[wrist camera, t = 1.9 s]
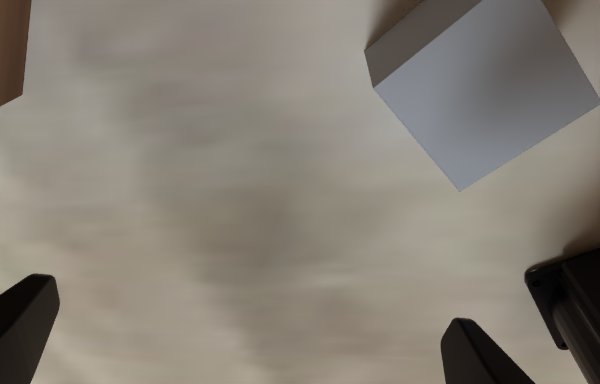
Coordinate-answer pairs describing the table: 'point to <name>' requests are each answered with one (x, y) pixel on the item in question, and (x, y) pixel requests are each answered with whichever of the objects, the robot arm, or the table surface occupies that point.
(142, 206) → the table surface
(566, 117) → the slate cube
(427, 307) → the table surface
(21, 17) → the walnut block
